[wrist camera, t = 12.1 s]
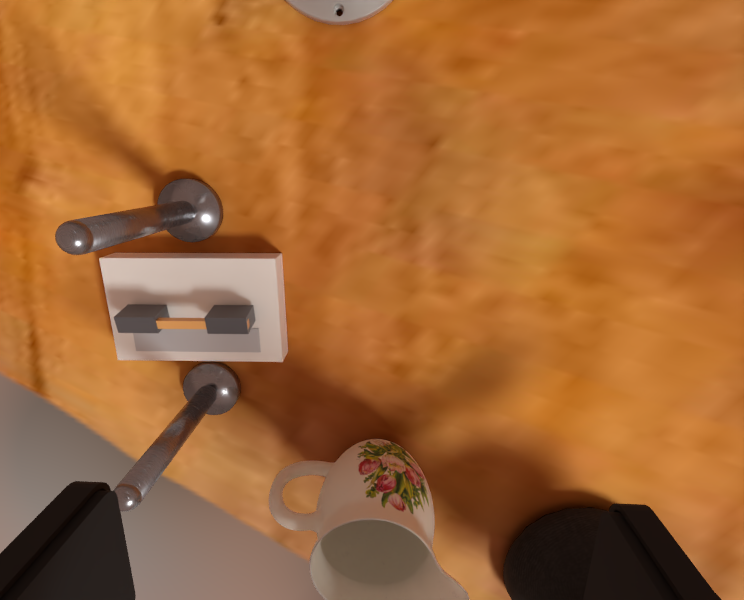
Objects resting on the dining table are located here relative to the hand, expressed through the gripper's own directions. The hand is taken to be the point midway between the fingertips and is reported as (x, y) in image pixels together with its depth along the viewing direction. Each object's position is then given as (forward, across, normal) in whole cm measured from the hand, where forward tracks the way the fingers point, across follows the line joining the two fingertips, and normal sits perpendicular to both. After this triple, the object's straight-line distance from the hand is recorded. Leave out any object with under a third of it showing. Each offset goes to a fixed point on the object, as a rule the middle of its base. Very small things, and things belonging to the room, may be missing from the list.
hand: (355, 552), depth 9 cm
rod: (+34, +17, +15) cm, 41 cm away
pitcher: (+34, +1, +24) cm, 42 cm away
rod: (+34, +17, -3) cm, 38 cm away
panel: (+34, +17, +6) cm, 39 cm away
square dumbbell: (+31, +17, +6) cm, 36 cm away
